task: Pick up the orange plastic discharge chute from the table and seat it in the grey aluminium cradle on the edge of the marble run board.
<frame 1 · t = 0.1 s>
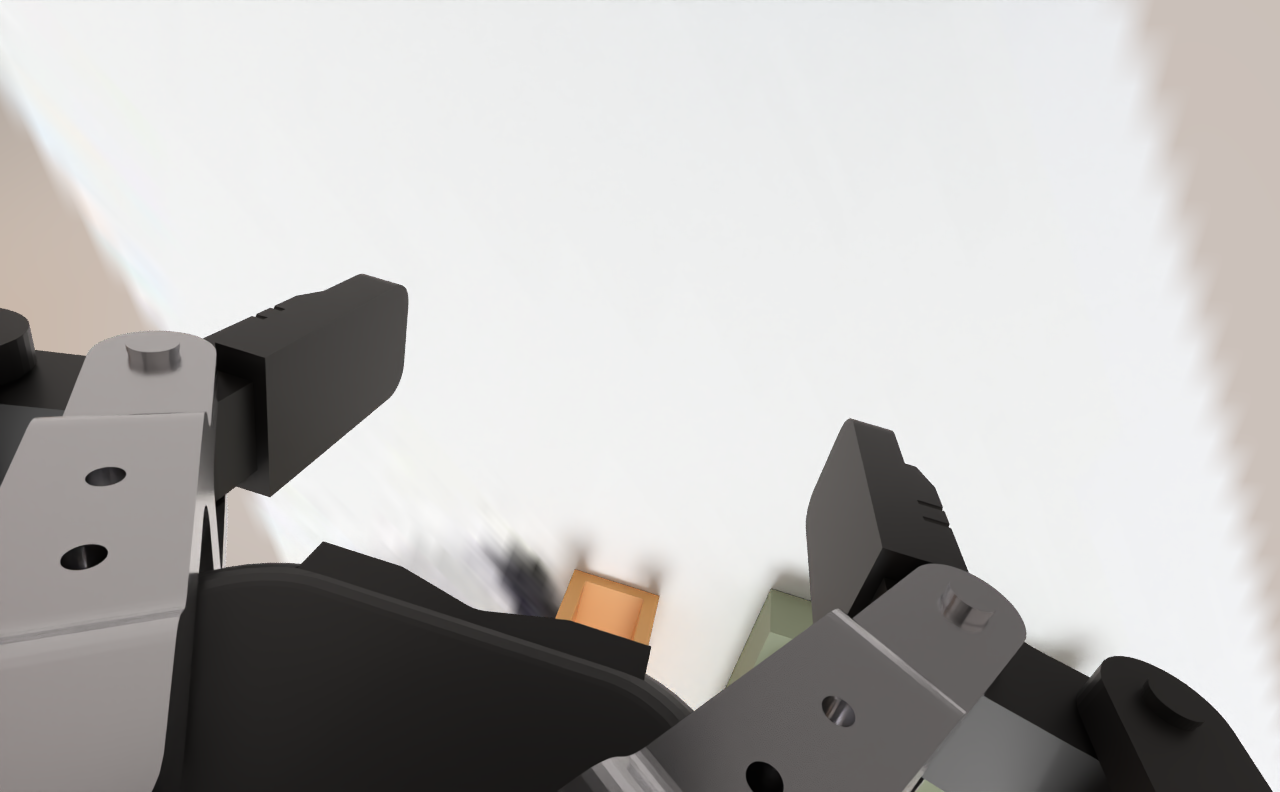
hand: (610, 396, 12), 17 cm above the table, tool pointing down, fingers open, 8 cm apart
marble run board: (859, 725, 39), on the table
discharge chute: (594, 659, 41), on the table
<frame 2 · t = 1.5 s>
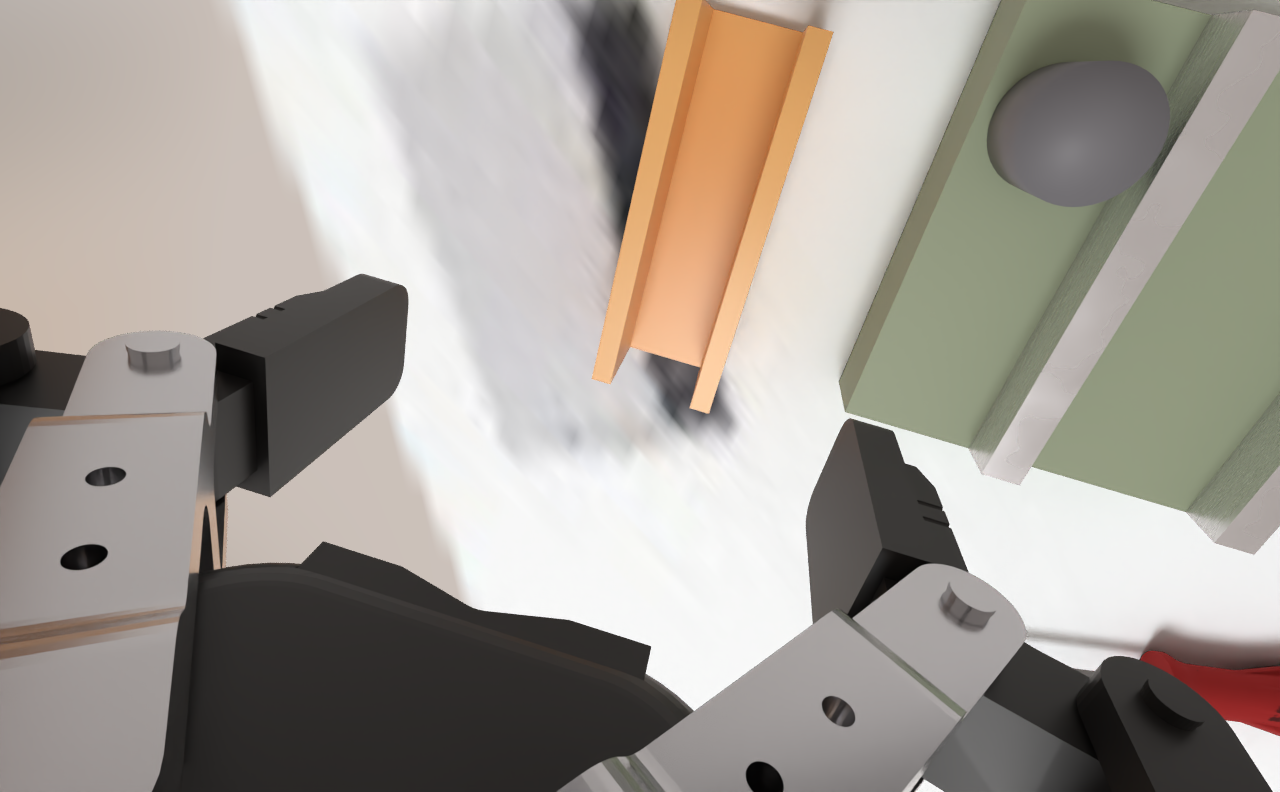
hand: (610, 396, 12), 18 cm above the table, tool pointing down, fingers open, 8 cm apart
chute cradle: (1217, 306, 23), resting on marble run board
marble run board: (1109, 264, 26), on the table
discharge chute: (707, 205, 28), on the table
screwdriver: (1123, 652, 34), on the table
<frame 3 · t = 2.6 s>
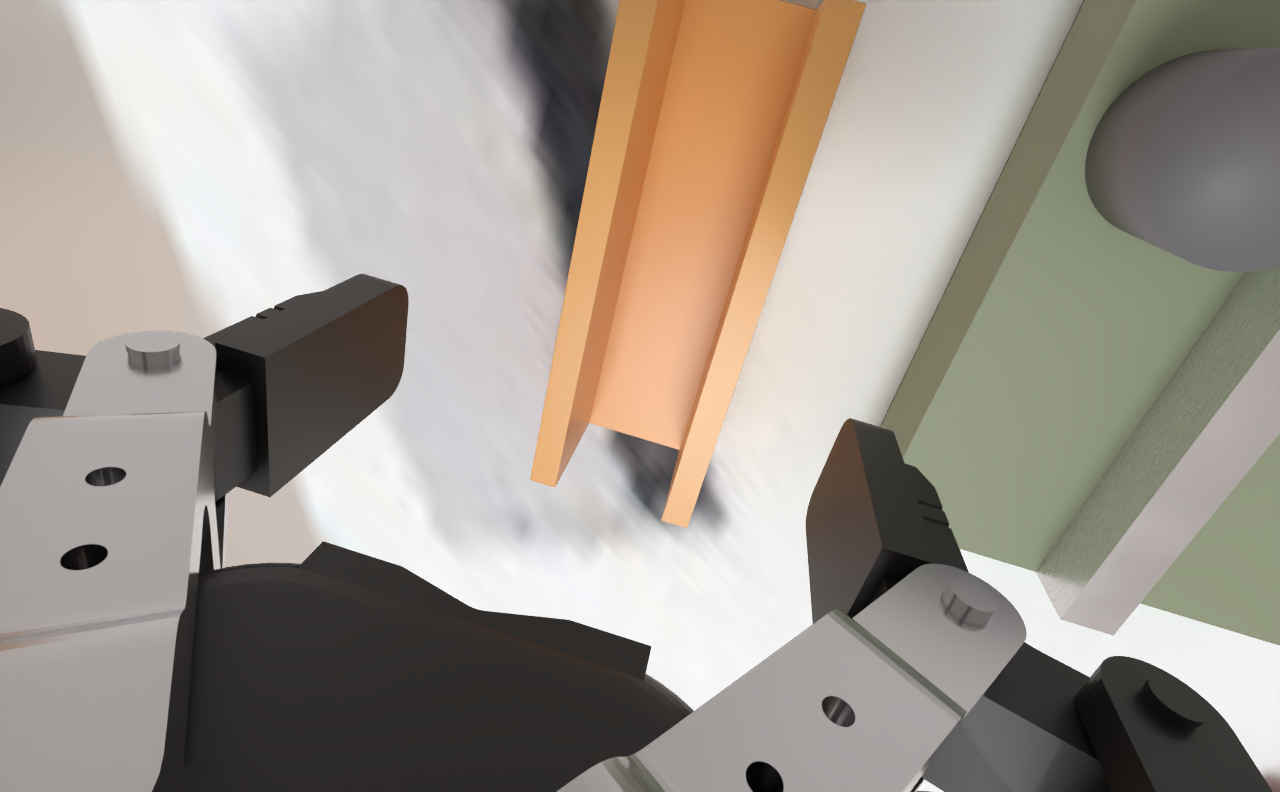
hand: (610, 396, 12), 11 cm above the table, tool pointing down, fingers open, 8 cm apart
marble run board: (1233, 329, 19), on the table
discharge chute: (687, 244, 21), on the table
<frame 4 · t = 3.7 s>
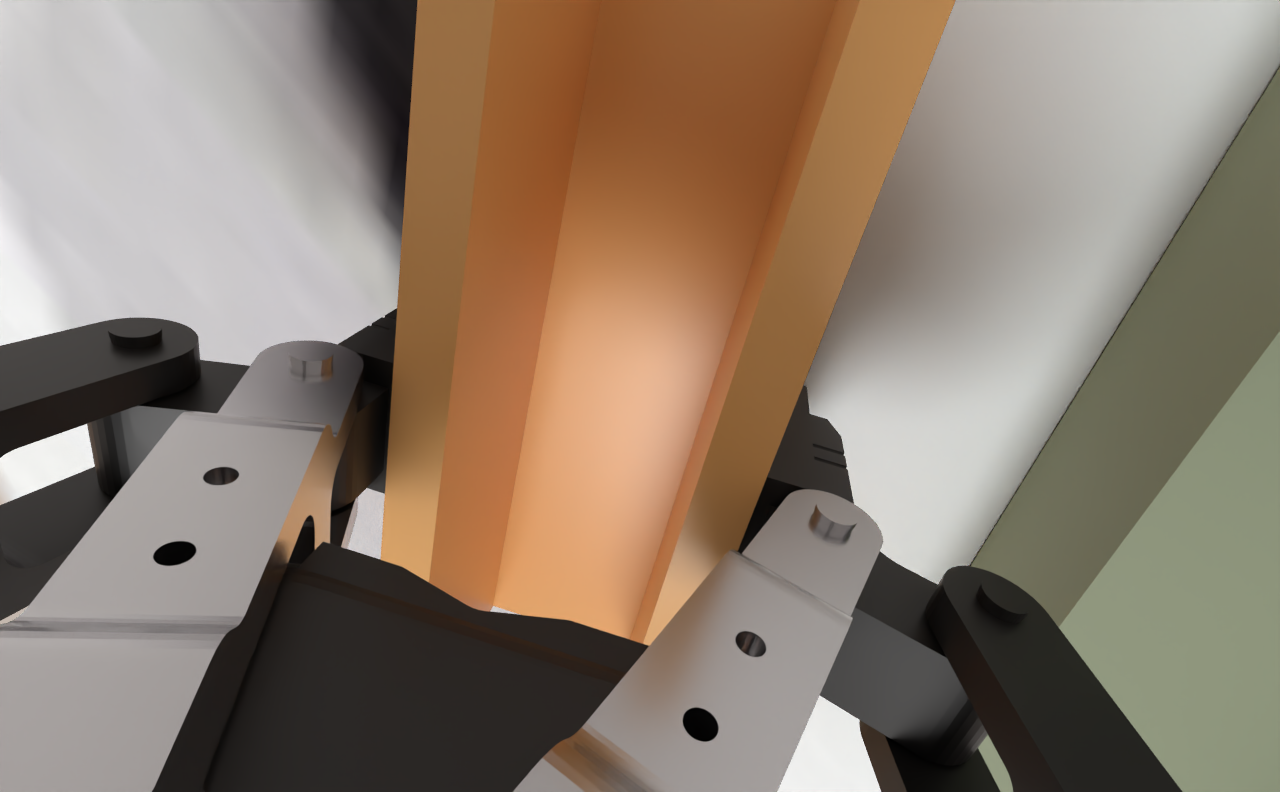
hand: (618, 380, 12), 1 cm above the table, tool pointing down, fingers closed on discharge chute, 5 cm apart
discharge chute: (630, 357, 13), on the table, touching gripper
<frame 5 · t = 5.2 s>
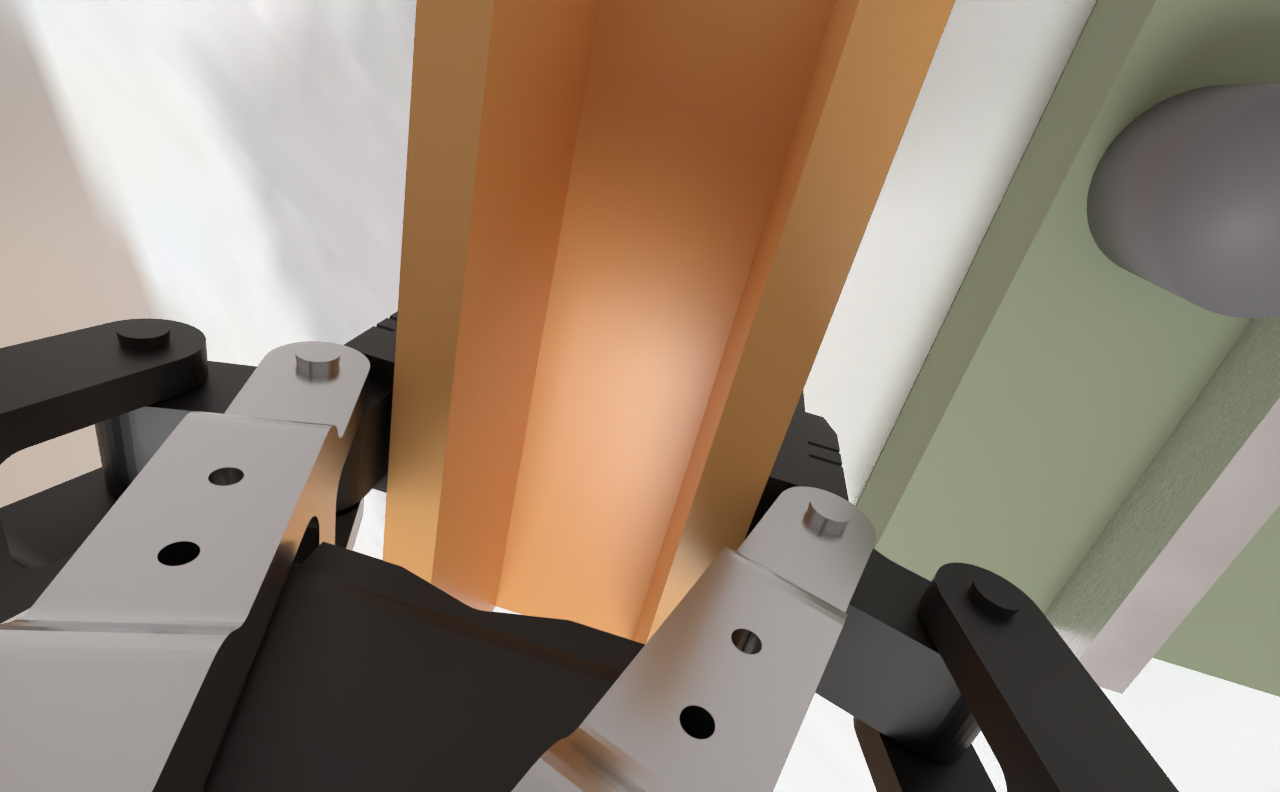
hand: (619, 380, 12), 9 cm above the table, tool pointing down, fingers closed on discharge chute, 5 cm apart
marble run board: (1240, 370, 18), on the table
discharge chute: (632, 356, 13), point 7 cm above the table, touching gripper
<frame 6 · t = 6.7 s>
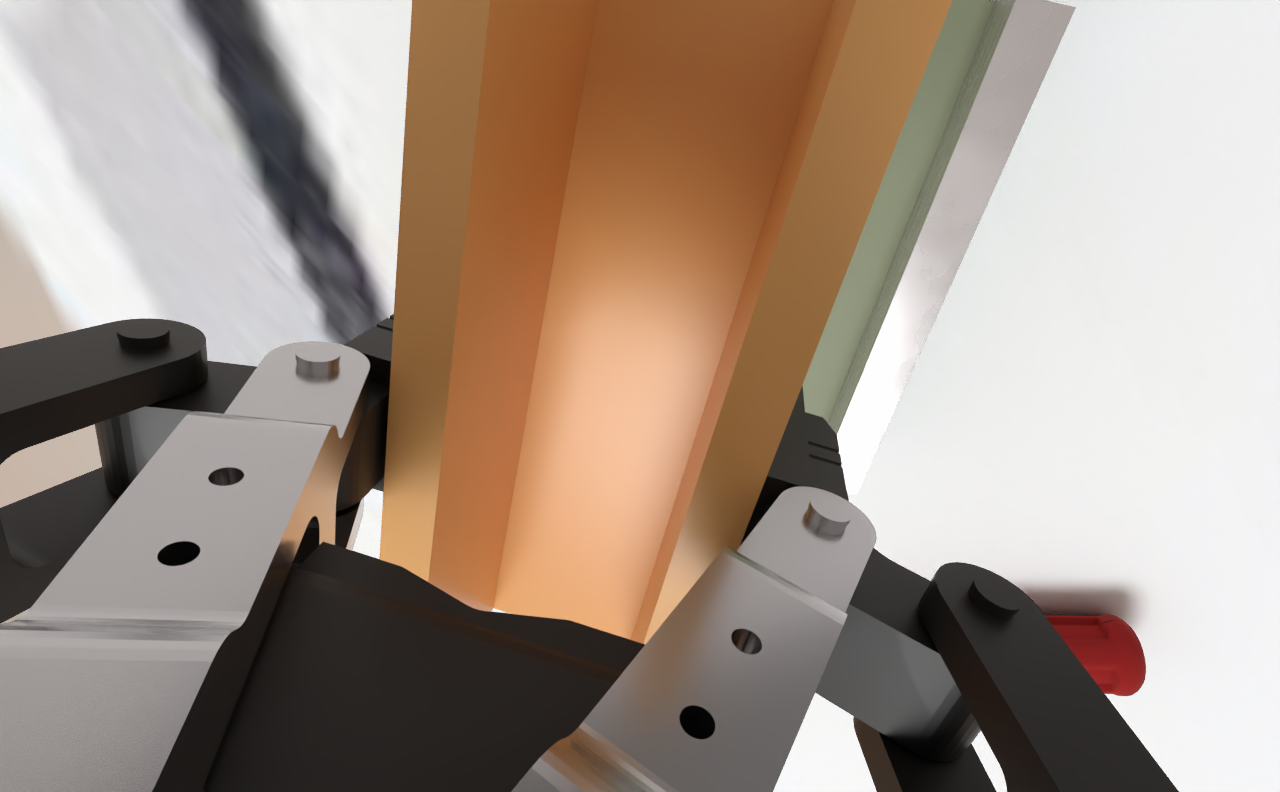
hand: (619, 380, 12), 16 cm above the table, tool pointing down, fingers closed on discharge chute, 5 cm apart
chute cradle: (783, 239, 23), resting on marble run board
marble run board: (720, 206, 26), on the table
discharge chute: (629, 358, 13), point 14 cm above the table, touching gripper
screwdriver: (837, 618, 34), on the table
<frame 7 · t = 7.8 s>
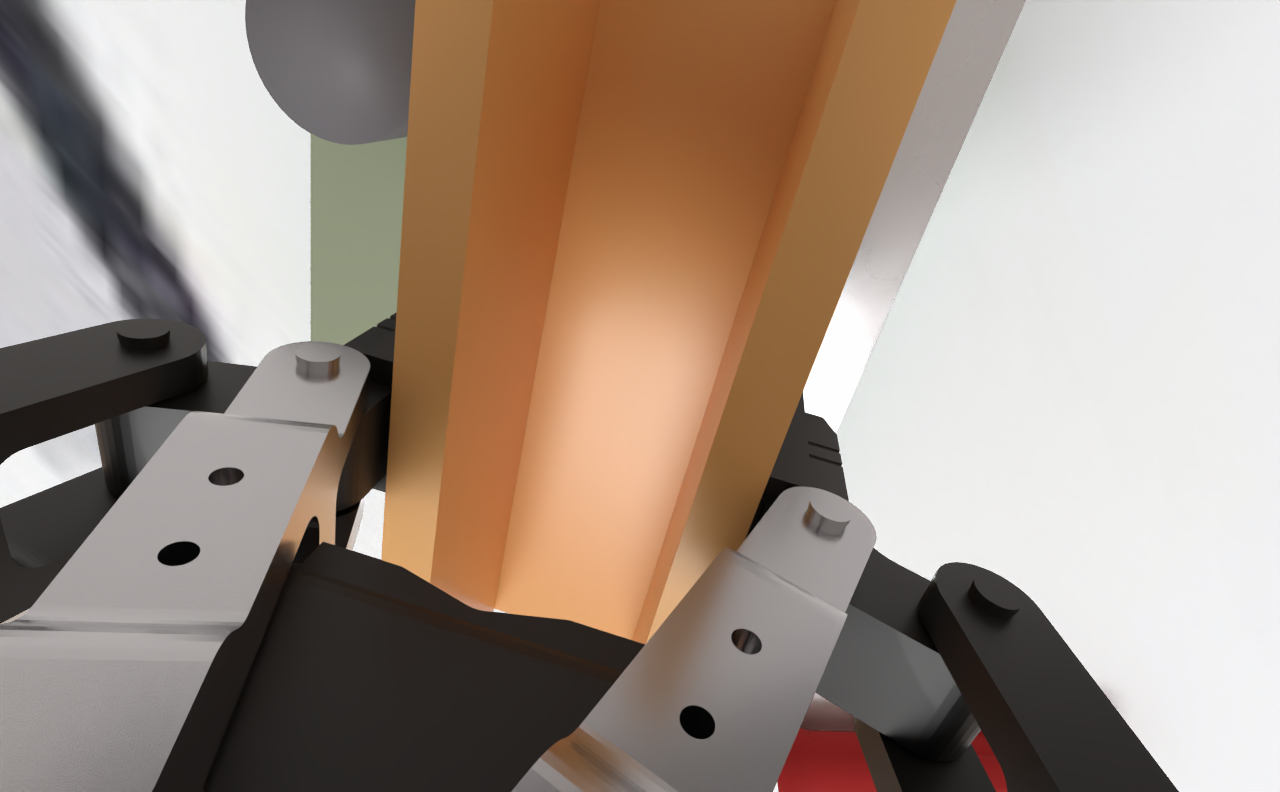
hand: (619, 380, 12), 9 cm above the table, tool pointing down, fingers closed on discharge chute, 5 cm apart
chute cradle: (667, 285, 18), resting on marble run board
marble run board: (605, 237, 21), on the table
discharge chute: (631, 359, 13), point 8 cm above the table, touching gripper
screwdriver: (764, 720, 29), on the table
when the fingers open (6 cm above the table, at t = 8.8 s): discharge chute drops 2 cm, resting on marble run board.
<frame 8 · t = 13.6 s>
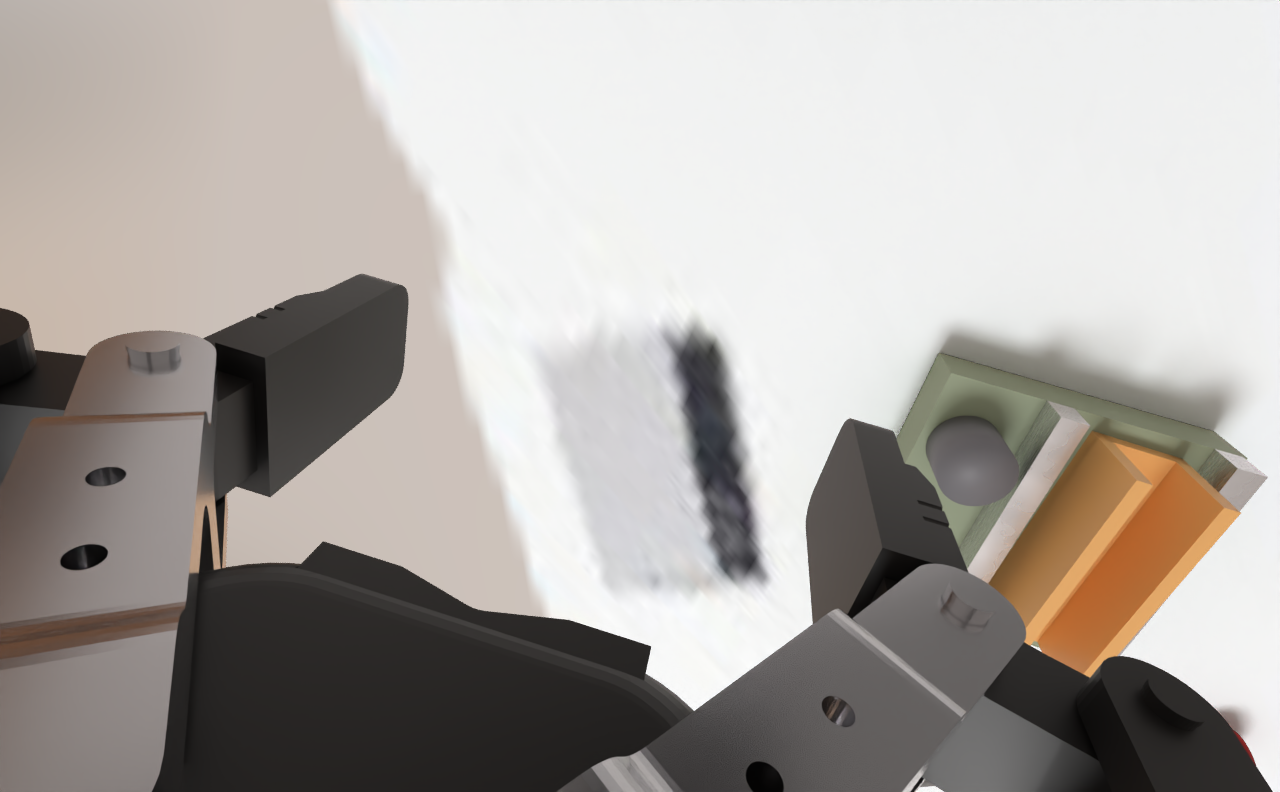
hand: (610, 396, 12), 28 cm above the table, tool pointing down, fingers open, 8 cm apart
chute cradle: (1065, 541, 39), resting on marble run board
marble run board: (1007, 500, 42), on the table
discharge chute: (1066, 541, 39), point 3 cm above the table, touching marble run board
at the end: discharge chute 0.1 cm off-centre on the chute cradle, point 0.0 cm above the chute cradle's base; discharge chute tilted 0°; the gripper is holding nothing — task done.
